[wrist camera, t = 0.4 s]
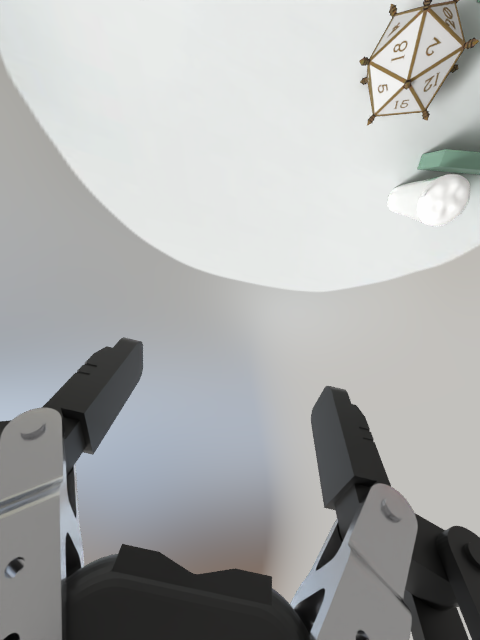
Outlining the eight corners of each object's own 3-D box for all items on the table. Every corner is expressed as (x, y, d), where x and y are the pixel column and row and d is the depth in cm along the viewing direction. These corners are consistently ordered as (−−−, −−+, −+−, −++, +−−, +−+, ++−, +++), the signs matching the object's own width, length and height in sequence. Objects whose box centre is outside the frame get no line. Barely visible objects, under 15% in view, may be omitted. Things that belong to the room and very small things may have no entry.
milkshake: (386, 171, 30) (441, 163, 21) (427, 183, 30) (498, 180, 21) (368, 211, 32) (411, 219, 23) (407, 222, 32) (464, 234, 23)
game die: (363, 81, 29) (378, -47, 20) (451, 68, 26) (519, -90, 17) (347, 153, 29) (354, 60, 19) (434, 150, 26) (493, 36, 16)
